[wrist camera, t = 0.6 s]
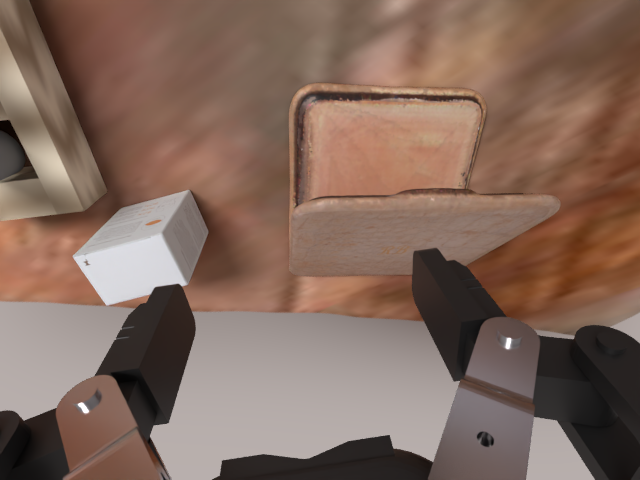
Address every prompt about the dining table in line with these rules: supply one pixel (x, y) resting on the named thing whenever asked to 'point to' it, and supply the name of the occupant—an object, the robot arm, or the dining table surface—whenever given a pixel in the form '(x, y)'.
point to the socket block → (41, 125)
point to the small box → (144, 248)
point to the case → (392, 180)
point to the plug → (10, 156)
